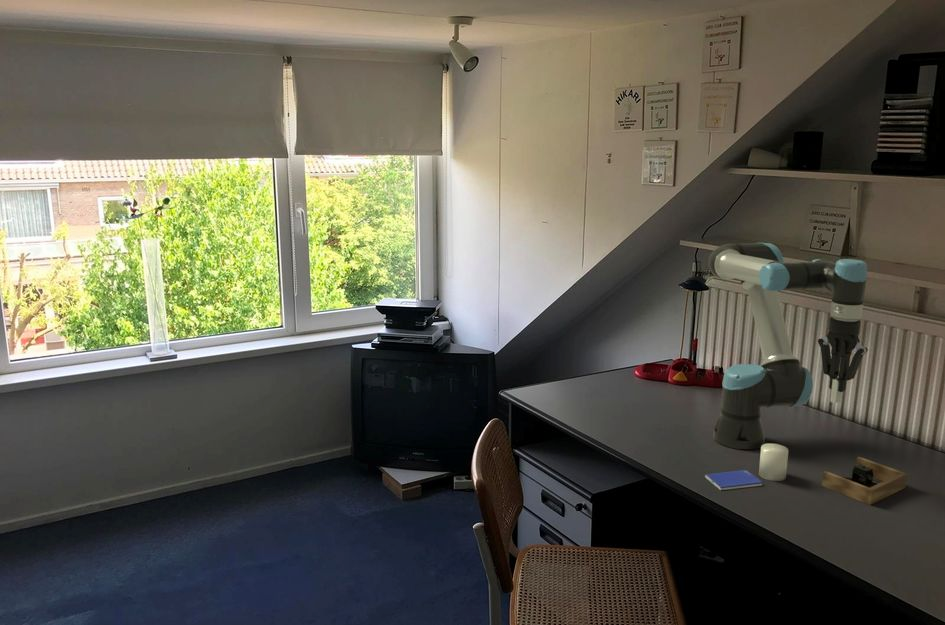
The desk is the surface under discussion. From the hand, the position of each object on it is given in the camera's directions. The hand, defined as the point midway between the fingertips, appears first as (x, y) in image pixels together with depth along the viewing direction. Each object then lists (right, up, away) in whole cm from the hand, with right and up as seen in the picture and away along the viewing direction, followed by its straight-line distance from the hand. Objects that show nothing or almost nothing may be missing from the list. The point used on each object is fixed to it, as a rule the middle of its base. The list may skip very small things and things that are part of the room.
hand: (835, 401), depth 205 cm
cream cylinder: (-16, -21, +4) cm, 27 cm away
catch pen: (+5, -22, -3) cm, 23 cm away
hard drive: (-28, -23, 0) cm, 36 cm away
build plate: (+7, -22, 0) cm, 24 cm away
